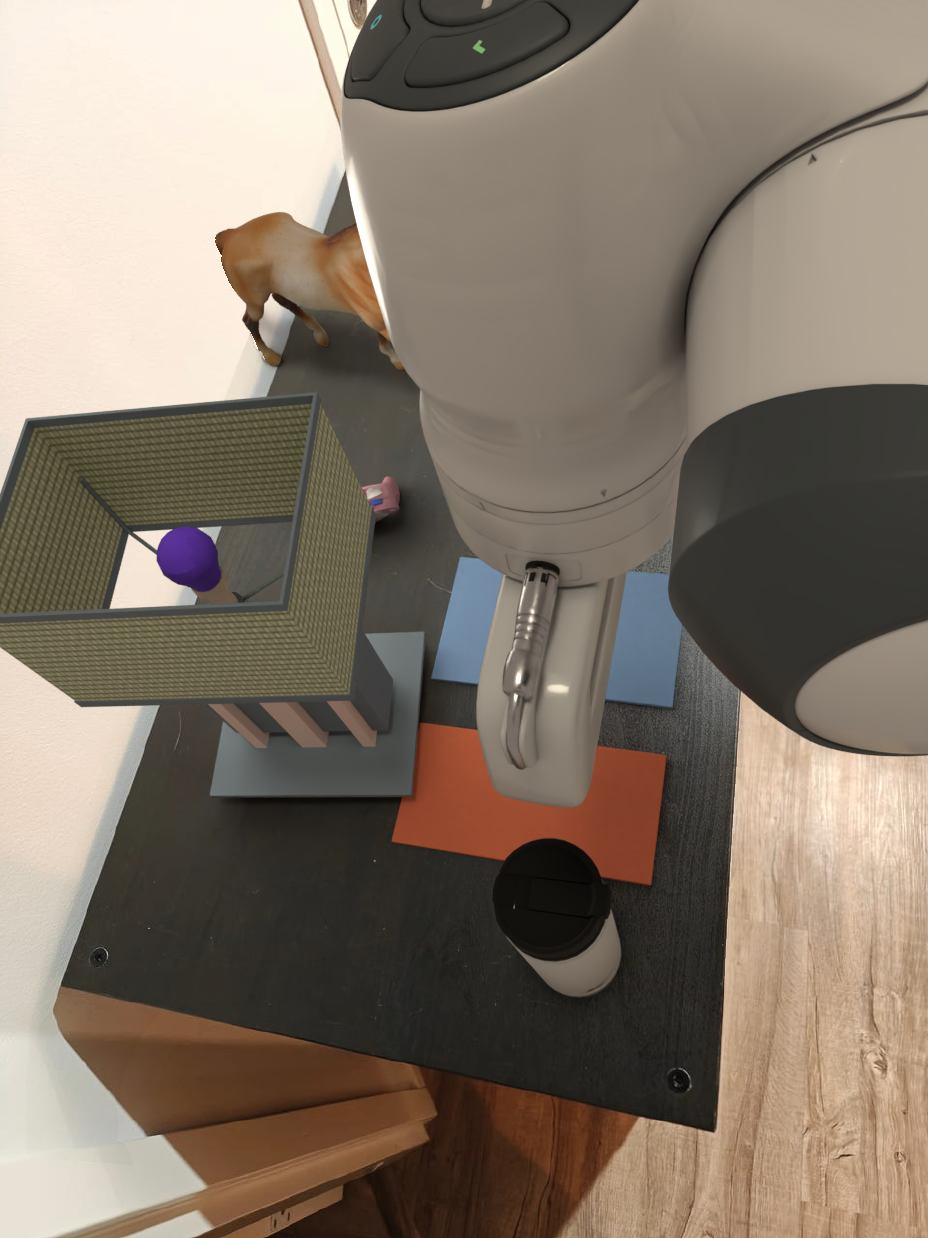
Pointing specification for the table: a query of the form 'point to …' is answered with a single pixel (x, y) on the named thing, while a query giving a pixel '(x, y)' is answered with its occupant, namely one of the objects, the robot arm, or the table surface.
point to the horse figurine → (300, 275)
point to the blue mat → (638, 651)
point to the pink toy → (383, 497)
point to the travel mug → (559, 915)
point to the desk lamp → (213, 589)
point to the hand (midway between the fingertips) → (590, 634)
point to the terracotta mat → (532, 807)
